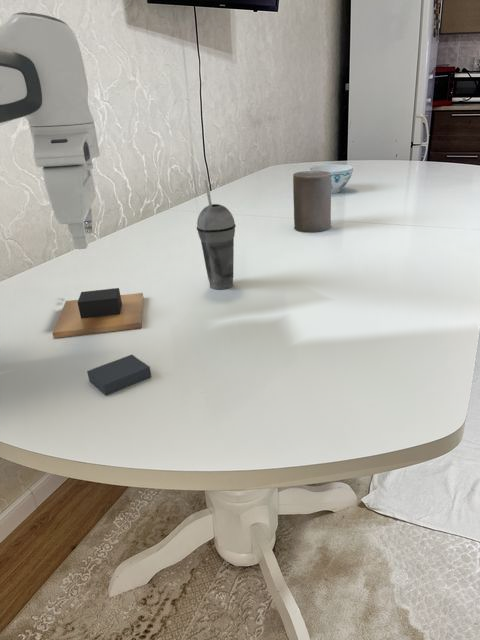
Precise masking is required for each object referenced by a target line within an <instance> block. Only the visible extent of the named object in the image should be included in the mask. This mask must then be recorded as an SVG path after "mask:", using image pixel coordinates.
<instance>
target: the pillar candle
mask: <svg viewBox="0 0 480 640" xmlns="http://www.w3.org/2000/svg"><path fill="white" fill-rule="evenodd" d="M292 187H293V188H292V189H293V190H292V191H293V195H292V196H293V224H294V225H293V229H294V230H295V231H298V232H302V233H318V232H324V231H327V230H330V229H331V225H332V224H331V223H332V221H331V220H332V193H331V173H330V172H326V171H312V168H311V171H308V170H305V171H297V172H294V173H293V175H292Z"/></svg>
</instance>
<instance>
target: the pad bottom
mask: <svg viewBox="0 0 480 640" xmlns="http://www.w3.org/2000/svg"><path fill="white" fill-rule="evenodd" d="M120 291H121V290H120V288H119V287H115V288H105V289H96V290H95V289H94V290H87V291H81V292H80V294H79V297H78V299H77V300H78V302H77V303H78V307H79V312H80V316H81V319H82V318H91V317H100V316H108V315H117V314H120V312H121V306H122V301H121V296H120V295H121V292H120Z"/></svg>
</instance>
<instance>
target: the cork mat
mask: <svg viewBox="0 0 480 640" xmlns="http://www.w3.org/2000/svg"><path fill="white" fill-rule="evenodd" d="M120 296H121V301H122V306H121V312H120V314H117V315H108V316H100V317H91V318H82V319H81V316H80V312H79V307H78V303H77V302H78V300H79V299H73V300H72V299H71V300H66V301H65V302H64V304H63V307H62V309H61V311H60V313H59V315H58V318H57V321H56V322H55V323H56V324H55V326H54V327H53V330H52V337H53V339H59V338H67V337H76V336H85V335H95V334H102V333H111V332H118V331H119V332H120V331H128V330H136V329H142V325H143V312H144V311H143V309H144V298H145V297H144V293H143V292H136V293H127V294H120Z"/></svg>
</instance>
